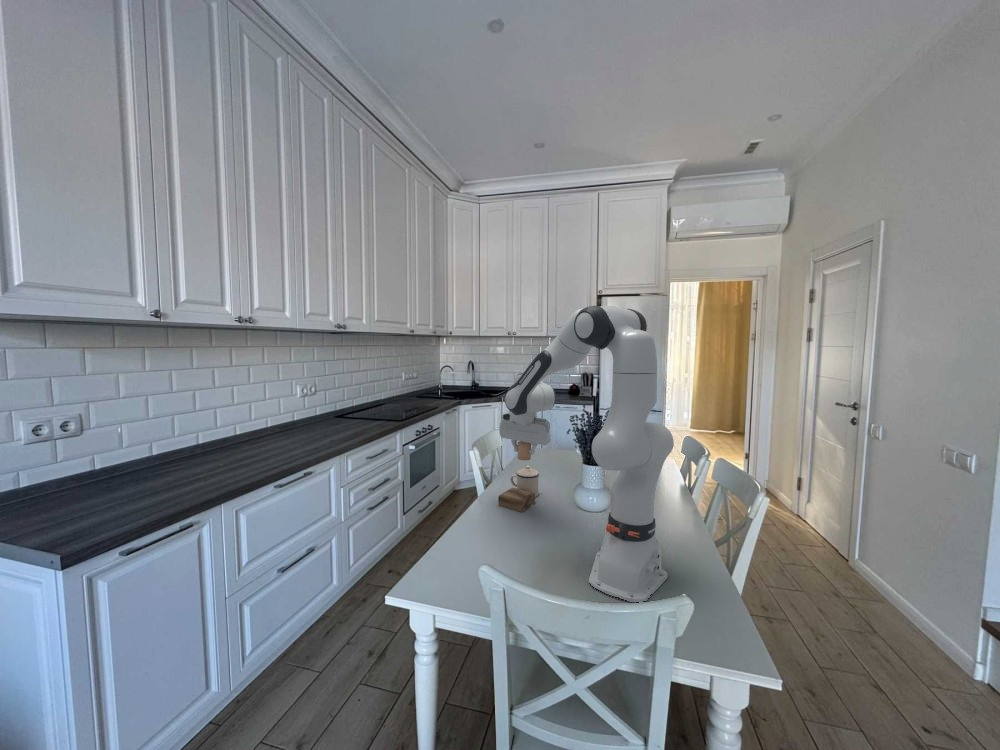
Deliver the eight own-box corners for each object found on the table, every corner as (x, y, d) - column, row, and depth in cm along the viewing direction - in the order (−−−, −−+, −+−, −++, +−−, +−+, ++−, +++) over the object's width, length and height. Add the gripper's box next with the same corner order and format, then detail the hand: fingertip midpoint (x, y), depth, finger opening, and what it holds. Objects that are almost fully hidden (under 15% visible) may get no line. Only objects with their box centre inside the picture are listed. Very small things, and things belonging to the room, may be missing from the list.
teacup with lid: (542, 492, 160) (542, 464, 159) (534, 500, 152) (534, 470, 151) (515, 487, 166) (515, 460, 165) (506, 495, 157) (506, 466, 156)
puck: (526, 461, 144) (526, 445, 143) (515, 458, 146) (515, 443, 146) (533, 457, 148) (533, 442, 147) (521, 455, 150) (522, 440, 150)
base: (521, 512, 141) (521, 500, 141) (498, 506, 147) (498, 495, 146) (534, 503, 150) (534, 492, 149) (512, 497, 155) (512, 486, 155)
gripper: (553, 418, 142) (553, 455, 144) (506, 411, 154) (506, 446, 155) (545, 421, 137) (545, 459, 138) (497, 414, 148) (497, 450, 150)
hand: (524, 452), depth 147 cm, fingers closed on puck, 5 cm apart
